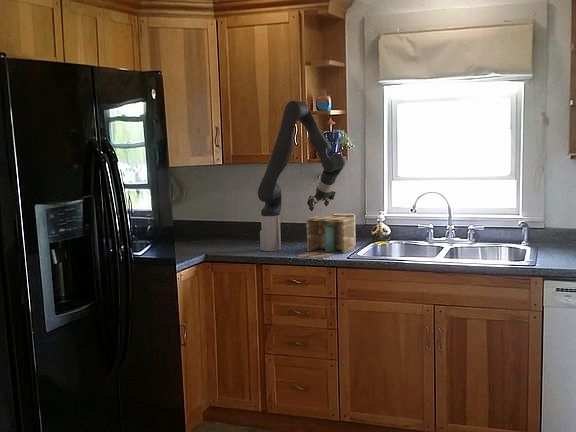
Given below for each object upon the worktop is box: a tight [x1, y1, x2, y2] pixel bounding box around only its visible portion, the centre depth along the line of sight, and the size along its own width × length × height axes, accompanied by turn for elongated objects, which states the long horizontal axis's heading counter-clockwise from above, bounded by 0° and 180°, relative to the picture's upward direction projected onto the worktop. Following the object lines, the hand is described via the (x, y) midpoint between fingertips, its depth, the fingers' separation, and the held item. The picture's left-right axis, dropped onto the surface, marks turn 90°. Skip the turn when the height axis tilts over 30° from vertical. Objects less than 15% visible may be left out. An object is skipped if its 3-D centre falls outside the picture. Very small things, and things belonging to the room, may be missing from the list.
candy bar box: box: [331, 213, 357, 248], centre depth 354 cm, size 11×5×16 cm, turn 74°
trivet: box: [295, 251, 335, 260], centre depth 330 cm, size 14×12×1 cm
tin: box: [324, 226, 336, 253], centre depth 342 cm, size 5×5×12 cm
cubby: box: [306, 215, 355, 255], centre depth 342 cm, size 20×11×16 cm, turn 59°
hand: (318, 207), depth 349 cm, fingers open, 8 cm apart
